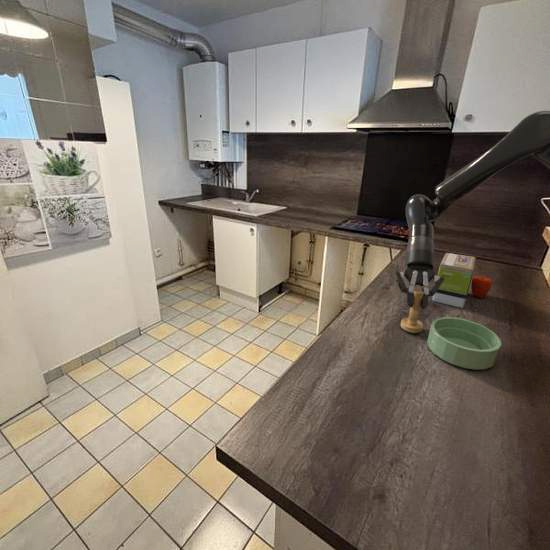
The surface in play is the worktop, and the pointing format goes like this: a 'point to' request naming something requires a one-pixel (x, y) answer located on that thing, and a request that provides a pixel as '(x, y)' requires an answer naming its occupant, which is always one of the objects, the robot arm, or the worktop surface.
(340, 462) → the worktop surface
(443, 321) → the bowl
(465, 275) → the tea box
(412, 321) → the brown round-based rod
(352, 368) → the worktop surface
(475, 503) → the worktop surface
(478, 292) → the red bell pepper
